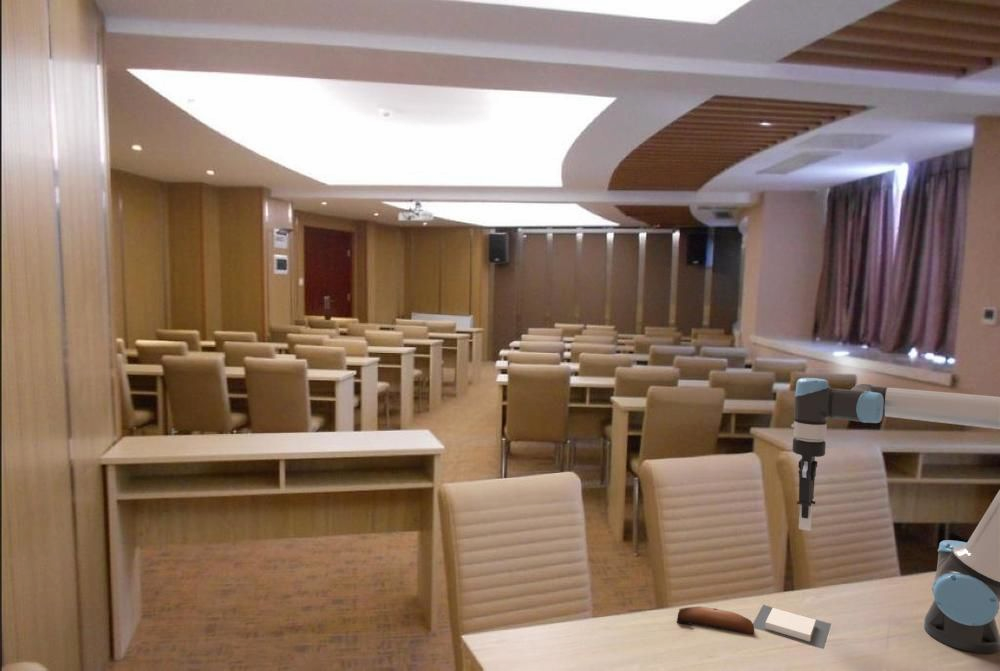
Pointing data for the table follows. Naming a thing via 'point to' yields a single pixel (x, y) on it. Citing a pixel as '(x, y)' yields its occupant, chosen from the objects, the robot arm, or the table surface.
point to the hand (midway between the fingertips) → (804, 529)
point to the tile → (790, 624)
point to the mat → (816, 640)
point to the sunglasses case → (715, 619)
